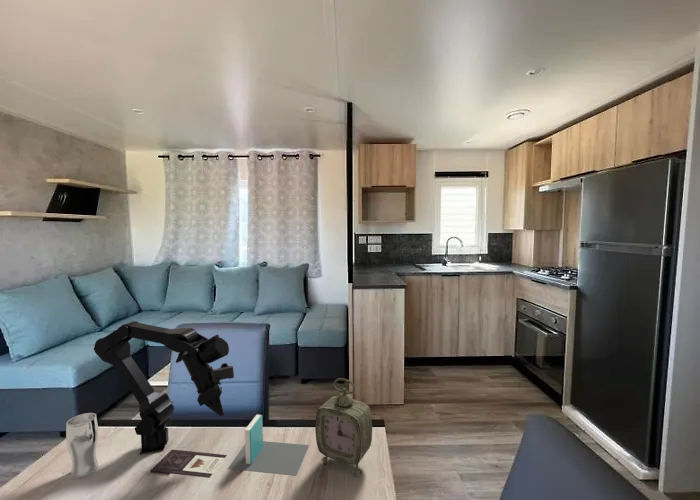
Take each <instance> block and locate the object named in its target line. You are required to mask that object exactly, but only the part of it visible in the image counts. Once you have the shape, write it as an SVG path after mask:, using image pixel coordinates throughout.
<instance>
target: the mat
mask: <svg viewBox="0 0 700 500" xmlns="http://www.w3.org/2000/svg"><path fill="white" fill-rule="evenodd" d="M309 447H310V445H309V444H301V443H291V442H290V443H289V442H288V443H287V442H280V441H279V442H277V441H276V442H275V441H266V440H263V447H262V449H261V451H260V452H259V454H258V455H257V457H256V458H255V460H254V462H253V463H252V464H246V452H245V444H244V445H243V446H242V448H241V450H240V451H239V452H238V453H237V454H236V456H235V458H234V459H233V460H232V462H231V463H230V465H229V466H228V467H227V469H228V470H234V471H235V470H237V471H244V472H245V471H247V472H258V473H266V474H276V475H285V476H287V475H288V476H297V475H298V473H299V470H300V468H301V466H302V463H303V461H304V458H305V457H306V454H307V451H308V449H309Z"/></svg>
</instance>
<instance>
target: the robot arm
mask: <svg viewBox="0 0 700 500" xmlns="http://www.w3.org/2000/svg"><path fill="white" fill-rule="evenodd" d="M132 339H135V340H141V341H146V342H151V343H154V344H155V343H156V344H161V345H163V346H164V347H165V348H166V349H167V350H170V351H172V352H175V353H178V354H177V358H176V360H175V364H178V363H180V362H183V364H184V366H185V368H186V370H187V372H188V373H189V376H190V381H191V382H193V384H194V385H195V388H196V392H197V399H196V401H197V402H198V404H199V406H200V407H202V406H206V408H208V409H210V410H212V412H214V414H215V413H216V414H217V415H218V416H219V417H223V416H224V415H225V412H224V407H223V404H222V400H221V395H222V394H223V388H222V387H223V386H221V385H222V382H221V381H222V380H227V379H229V380H232V379H234V378H235V372H234V370H235V369H234V366H233V365H229V364H228V363H227V362H224V363H221V365H220V367H218V368H213V366H212V365H210V364H212V363H213V362H216V361H218V360H221V359H222V358H223V357H226V356H228V355H229V352H230V348H229V343H228V342H227V341H226V340H225V339H224V338H222V337H220V335H219V334H214V336H211V337H210V338H207V337H206V336H204V335H203V334H201V333H199V332H197V330H196V329H195V328H193V327H178V328H167V327H161V326H156V325H152V324H147V323H146V324H145V323H141V322H139V321H136V320H135V321H134V320H133V321H129V322H127V323H124V324H122V325H120V326H119V327H118V328H117V329H115V330H114V331H112V332H111V333H109V334H107V335H106V336H103V337H100V338H98V339H97V340H96V341H95V343H94V347H93V350H94V353H95V355H97V356H98V357H99V359H100V360H101V361H103V362H105V363H107V364H109V365H112V366H113V367H114V369H115V370H116V371H117V373H118V375H119V376H120V377H121V379H122V380H123V382H124V383H125V384H126V387H127V388H128V389H129V391H130V392H131V393H132V395H133V396H134V399H135V400H136V401H137V403H138V405H139V408H138V409H139V414H138V415H139V416H140V419H141V421H140V422H139V423H138V424H137V425H136V426H135V427H134V431H135V433H136V435H137V436H140V440H141V441H140V443H141V449H140V451H139V455H146V454H150V453H157V452H161V451H164V450H165V447H166V446H167V444H168V442H169V428H168V427H167V422H169V421H170V419H171V417H172V415H173V414H174V410H175V406H174V405H173V403H174V401H173V400H171V398H170V397H169V395H168V394H167V392H164V393H162V394H160V393H158V392H156V391H155V389H154V388H153V386H152V385H151V383H150V382H149V380H148V379H147V378H146V376H145V374H144V373H143V371H142V370H141V369H140V367H139V366H138V365H137V363H136V361H135V359H133V357H132V355H131V344H130V341H131V340H132Z"/></svg>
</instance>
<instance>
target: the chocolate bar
mask: <svg viewBox="0 0 700 500" xmlns="http://www.w3.org/2000/svg"><path fill="white" fill-rule="evenodd" d="M226 457H227V454H220V453H219V454H218V453H211V452H210V453H209V452H203V451H190V450H183V449H182V450H181V449H180V450H179V449H170V451H168V453H167V454H166V455H164V456H163V457H162V458H161V459H160V460H159V461H158V462H157V463H156V464H155V465H154V466H153V467H152V468H151V469H150V470H149V473H151V474H152V473H153V474H161V475H163V474H164V475H170V474H175V475H182V476H183V475H185V476H193V477H202V478H211V476H212V475H213V474H214V472H215V471H216V470H217V469H218V467H219V466H220V465H221V464H222V463H223V461H224V460H225V458H226Z"/></svg>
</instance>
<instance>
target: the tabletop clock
mask: <svg viewBox="0 0 700 500" xmlns="http://www.w3.org/2000/svg"><path fill="white" fill-rule="evenodd" d="M339 381H340V382H342V381H343V382H346V383H349V384H350V385H351V386H352V388H353V390H351V391H347V388H346V387H343V388H342V389H340V388H338V387H337V386H336V383H337V382H339ZM332 386H333V387H334V389H335V390H336V391H337V392H339V394H338V395H337V396H336V395H335V396H332V397H330V398H328V400H327V401H326V402H324V403H323V404H322V405H321V406H320V407H318V408H317V411H316V415H315V425H314V427H315V428H314V429H315V430H314V431H315V440H316V446H317V449H318V451H319V453H321V454H322V455H324V456H323V457H322V459H321V461H322V463H323V464H327V463H328V458H329V459H332V460H334V461H336V462H339V463H342V464H346V465H350V466H355V468H356V469H355V472H354V473H355V475H356V476H357V477H359V476H361V475H362V470H361V469H360V468H359V463H360V462H361V461H362V459H363V458H364V457H365V455H366V454H367V452H368V451H369V449H370V448H371V445H372V441H373V420H372V418H373V417H372V414H371V413H372V411H371V408H370V405H368V404H367V403H366V402H363V401H360V400H357V399H354V398H353V397H352V395H351V394H353V393H355V392H356V386H355V384H354V382H352V381H351V380H350V379H347V378H343V377H338V378H336V379H335V380H334V381H333V384H332Z"/></svg>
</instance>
